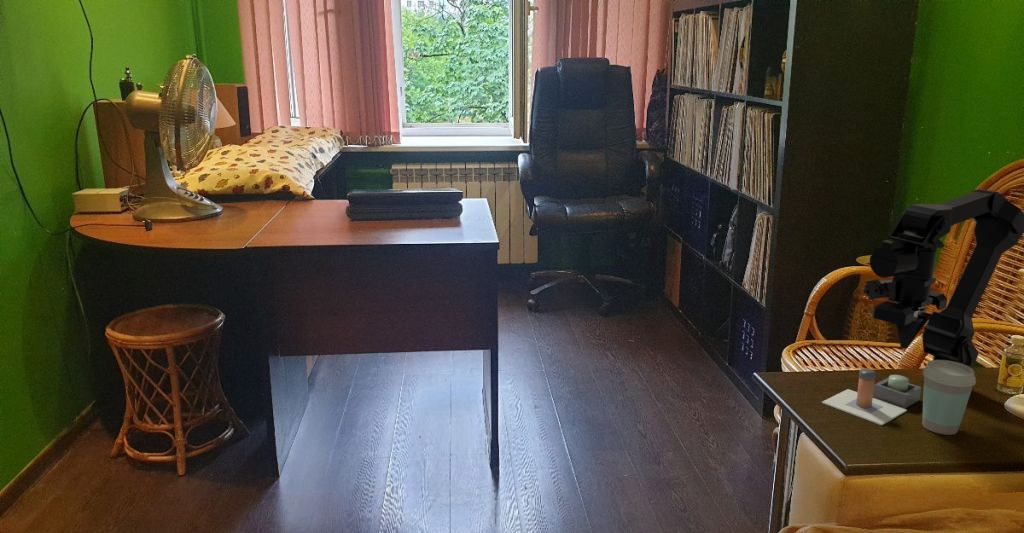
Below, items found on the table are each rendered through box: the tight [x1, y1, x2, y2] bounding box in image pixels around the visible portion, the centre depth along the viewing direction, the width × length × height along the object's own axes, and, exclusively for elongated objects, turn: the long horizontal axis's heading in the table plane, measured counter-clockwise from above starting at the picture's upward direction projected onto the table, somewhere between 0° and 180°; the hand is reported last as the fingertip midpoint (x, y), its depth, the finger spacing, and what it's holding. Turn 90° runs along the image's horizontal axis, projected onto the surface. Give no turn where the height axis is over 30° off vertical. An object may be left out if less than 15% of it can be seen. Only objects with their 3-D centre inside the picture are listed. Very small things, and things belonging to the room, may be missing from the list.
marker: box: [856, 368, 877, 408], centre depth 150 cm, size 3×3×7 cm
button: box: [888, 374, 910, 393], centre depth 154 cm, size 4×4×2 cm
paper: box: [821, 388, 908, 426], centre depth 151 cm, size 10×12×1 cm
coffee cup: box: [921, 359, 977, 436], centre depth 141 cm, size 8×8×12 cm
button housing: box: [873, 376, 922, 409], centre depth 154 cm, size 6×6×3 cm
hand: (903, 347), depth 152 cm, fingers closed
